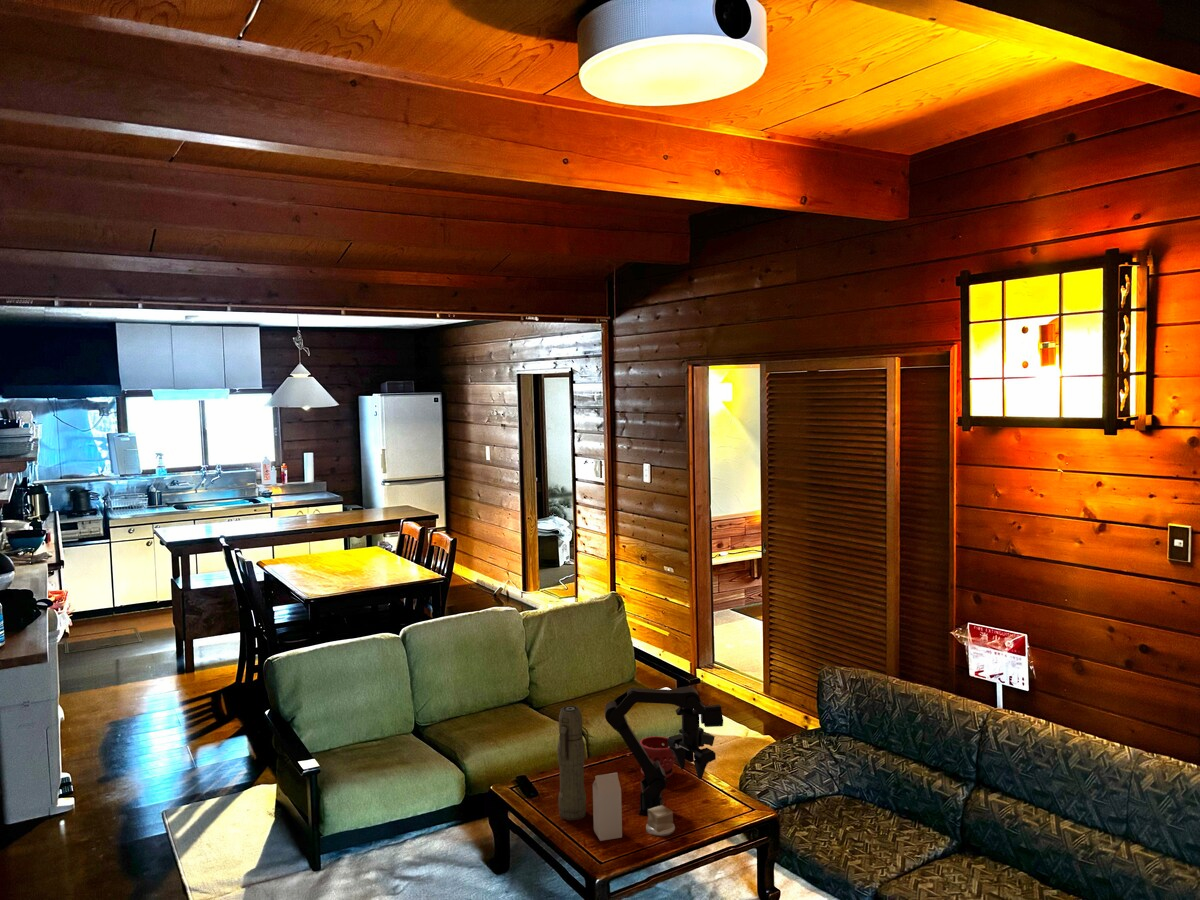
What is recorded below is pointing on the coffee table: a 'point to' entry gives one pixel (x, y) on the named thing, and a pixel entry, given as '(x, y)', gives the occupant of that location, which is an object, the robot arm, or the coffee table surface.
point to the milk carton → (607, 807)
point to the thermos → (571, 764)
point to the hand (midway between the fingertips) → (691, 774)
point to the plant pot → (659, 753)
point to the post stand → (661, 833)
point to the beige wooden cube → (660, 818)
